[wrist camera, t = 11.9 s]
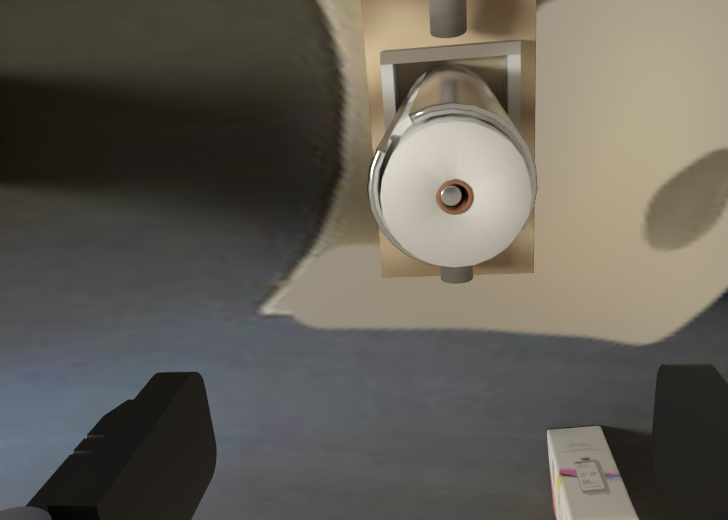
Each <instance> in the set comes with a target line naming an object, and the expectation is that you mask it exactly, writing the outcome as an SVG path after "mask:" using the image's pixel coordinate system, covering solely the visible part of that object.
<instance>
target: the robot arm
mask: <svg viewBox="0 0 728 520" xmlns="http://www.w3.org/2000/svg"><path fill="white" fill-rule="evenodd" d="M651 451H652V461H653V467H654V472H655V476H656V479H657V481H658V484H659V486H660V488H661V490H662V492H663V495H664V497H665V499H666V501H667V503H668V505H669V507H670V509H671V512H672V514H673V516H674V518H675V520H728V384H727V382H726V381H725V380H724V379H723V377H722V376H721V375H720V374H719V372H718V371H717V370H716V369H715V367H714V366H713V365H711V364H669V365H661V366H660V368H659V370H658V373H657V379H656V391H655V404H654V417H653V430H652V443H651ZM216 455H217V451H216V441H215V436H214V430H213V425H212V420H211V415H210V410H209V405H208V400H207V395H206V389H205V385H204V381H203V378H202V376H201V375H200V374H199V373H198V372H163V373H156V374H155V375H154V376H153V377H152V378H151V379H150V380H149V382H148V383H147V384H146V385H145V387H144V388H143V389H142V390H141V391H140V393H139V394H138V395H137V396H136V398H135V399H134V400H127V401H125V402H124V403H122V404H121V405H119V406H118V407H116V408H115V409H113V410H112V411H110V412H109V413H107V414H106V415H104V416H103V417H102V418H101V419H100V421H99V422H98V423H97V424H96V425H95V426H94V428H93V429H92V430H91V431H90V432H89V433H88V435H87V439H83V440H82V441H81V443H80V444H79V445H78V446H77V447H76V448H75V450H74V454H73V455H69V457H68V458H67V459H66V460H65V461H64V462H63V463H62V465H61V466H60V467H59V468H58V469H57V470H56V472H55V473H54V474H53V475H52V476H51V477H50V478H49V480H48V481H47V482H46V483H45V484H44V485H43V487H42V488H41V489H40V490H39V491H38V492H37V494H36V495H35V496H34V497H33V498H32V499H31V500H30V502H29V503H28V504H27V505H26V506H25V507H16V508H10V509H6V510H3V511H0V520H191V519H192V517H193V515H194V513H195V511H196V509H197V507H198V505H199V503H200V501H201V499H202V497H203V495H204V493H205V491H206V489H207V487H208V485H209V483H210V481H211V479H212V477H213V474H214V470H215V465H216Z"/></svg>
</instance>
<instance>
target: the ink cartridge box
mask: <svg viewBox="0 0 728 520" xmlns="http://www.w3.org/2000/svg"><path fill="white" fill-rule="evenodd" d="M547 440H548V453H549V464H550V475H551V487H552V497H553V508H554V512H555V517H556V520H639V518H638V516H637V514H636V512H635V510H634V507H633V505H632V503H631V500H630V498H629V495H628V493H627V490H626V488H625V485H624V483H623V480H622V478H621V476H620V473H619V471H618V469H617V466H616V463H615V461H614V458H613V456H612V453H611V451H610V448H609V446H608V444H607V441H606V439H605V436H604V434H603V431H602V428H601V426H589V427H577V428H564V429H551V430H548V431H547Z"/></svg>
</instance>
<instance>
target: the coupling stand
mask: <svg viewBox="0 0 728 520" xmlns="http://www.w3.org/2000/svg"><path fill="white" fill-rule="evenodd" d="M361 3H362V17H363V30H364V43H365V56H366V69H367V82H368V95H369V108H370V121H371V134H372V148H373V157H374V154H375V152H376V149H377V147H378V145H379V143H380V141H381V140H382V138H383V136H384V134H385V133H386V131H387V129H388V127H389V126H390V124H391V122H392V120H393V118H394V117H395V115H396V113H397V111H398V110H399V108H400V106H401V104H402V103H403V101H404V99H405V97H406V96H407V94H408V92H409V90H410V89H411V87H412V86H413V84H414V83H415V82H416V80H417V79H418V78H419V77H420V76H422V75H423V74H424V73H425V72H427V71H428V70H431V69H433V68H435V67H437V66H443V65H449V64H451V65H460V66H464V67H466V68H469V69H471V70H473V71H474V72H476V73H477V74H478V75H480V76H481V77H482V78H483V79H484V81H485V82H486V84H487V85H488V86H489V88H490V89H491V91H492V92H493V94H494V95H495V97H496V98H497V100H498V101H499V103H500V104H501V106H502V107H503V109H504V110H505V112H506V113H507V115H508V116H509V118H510V119H511V121H512V122H513V124H514V125H515V127H516V128H517V130H518V131H519V133H520V134H521V136H522V137H523V139H524V140H525V142H526V143H527V145H528V147H529V149H530V152H531V155H532V158H533V160H534V163H535V79H536V0H361ZM379 239H380V252H381V265H382V277H411V276H412V277H414V276H441V280H443V281H444V282H448V283H465V282H468V281H470V280H472V278H473V275H476V274H477V275H478V274H479V275H480V274H513V273H534V208H533V211H532V213H531V215H530V217H529V219H528V221H527V223H526V225H525V227H524V229H522V230H521V232H520V234H519V235H518V236H517V237H516V238H515V239H514V241H513V242H512V243H511V244H510V245H509V247H508V248H506V249H505V250H503V251H502V252H501V253H499V254H498V255H496V256H495V257H493V258H492V259H489V260H487V261H484V262H481V263H478V264H476V265H472V266H464V267H455V268H453V267H451V268H449V267H442V266H434V265H428V264H426V263H423V262H421V261H418V260H416V259H413V258H411V257H409V256H407V255H406V254H405V253H403V252H402V251H400V250H399V249H398V248H396V247H395V246H394V245H392V243H391V242H390V241H389V240H388V239H387V237H386V236H385V235H384V234H383V232H382V231H381V230H380V229H379Z"/></svg>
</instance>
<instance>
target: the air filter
mask: <svg viewBox="0 0 728 520" xmlns="http://www.w3.org/2000/svg"><path fill="white" fill-rule="evenodd" d="M536 177H537V176H536V166H535V163H534V160H533V158H532V155H531V152H530V149H529V147H528V145H527V143H526V142H525V140H524V139H523V137H522V136H521V134H520V133H519V131H518V130H517V128H516V127H515V125H514V124H513V122H512V121H511V119H510V118H509V116H508V115H507V113H506V112H505V110H504V109H503V107H502V106H501V104H500V103H499V101H498V100H497V98H496V97H495V95H494V94H493V92H492V91H491V89H490V88H489V86H488V85H487V84H486V82H485V81H484V79H483V78H482V77H481V76H480V75H478V74H477V73H476V72H474V71H473V70H471V69H469V68H466V67H464V66H460V65H451V64H449V65H443V66H437V67H435V68H433V69H431V70H428V71H427V72H425V73H424V74H423V75H422V76H420V77H419V78H418V79H417V80H416V82H415V83H414V84H413V86H412V87H411V89H410V90H409V92H408V94H407V96H406V97H405V99H404V101H403V103H402V104H401V106H400V108H399V110H398V111H397V113H396V115H395V117H394V118H393V120H392V122H391V124H390V126H389V127H388V129H387V131H386V133H385V134H384V136H383V138H382V140H381V141H380V143H379V145H378V147H377V149H376V152H375V154H374V157H373V159H372V162H371V165H370V167H369V176H368V186H367V190H368V197H369V203H370V209H371V211H372V214H373V216H374V218H375V220H376V222H377V225H378V227H379V229H380V230H381V231H382V232H383V234H384V235H385V236H386V237H387V239H388V240H389V241H390V242H391V243H392V245H394V246H395V247H396V248H398V249H399V250H400V251H402V252H403V253H405V254H406V255H407V256H409V257H411V258H413V259H416V260H418V261H421V262H423V263H426V264H428V265H434V266H442V267H449V268H451V267H453V268H455V267H464V266H472V265H476V264H478V263H481V262H484V261H487V260H489V259H492V258H493V257H495V256H496V255H498V254H499V253H501V252H502V251H503V250H505V249H506V248H508V247H509V245H510V244H511V243H512V242H513V241H514V239H515V238H516V237H517V236H518V235H519V234H520V232H521V230H522V229H524V227H525V225H526V223H527V221H528V219H529V217H530V215H531V213H532V211H533V208H534V203H535V198H536V193H537V178H536Z"/></svg>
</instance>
